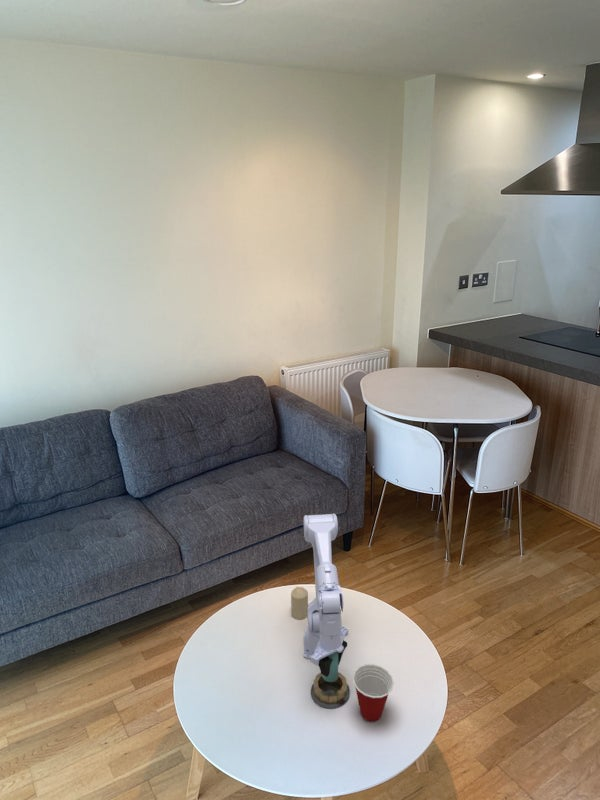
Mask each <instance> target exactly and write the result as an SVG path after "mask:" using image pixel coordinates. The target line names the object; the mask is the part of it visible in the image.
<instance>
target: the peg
mask: <svg viewBox="0 0 600 800" xmlns="http://www.w3.org/2000/svg"><path fill="white" fill-rule="evenodd" d="M328 657H329V658H331V659H333V661H332V663H331V665H330V671H329V675H328V677H326V676H324V675H323V674H322V677H323V679H324V680H325V681H327V682H334V681H336V680H337V679H338V672H339V665H338V652H335V653H333V654H330V655H328Z"/></svg>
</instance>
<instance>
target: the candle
mask: <svg viewBox="0 0 600 800" xmlns="http://www.w3.org/2000/svg"><path fill="white" fill-rule="evenodd" d="M308 592H309V591H308V590H307V589H306V588H304V587H303V586H296V587H295V588H293V589H292V590H291V592H290V601H291V602H290V603H291V604H290V605H291V616H292V618H293V619H295V620H299V621H300V620H304V619H306V618H307V612H308V610H307V607H308V605H309V595H308V594H309V593H308Z"/></svg>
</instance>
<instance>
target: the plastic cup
mask: <svg viewBox="0 0 600 800" xmlns="http://www.w3.org/2000/svg"><path fill="white" fill-rule="evenodd" d="M352 682H353V685H354V687H355V690H356V696H357V701H358V702H357V703H358V707H359V712H360V715H361V717H362V718H363V719H364V720H366V722H371V723H372V722H373V723H374V722H377V721H379V720H380V719H382V716H383V712H384V710H385V705H386V703H387V700H388V697H389V694H391V692H392V691H393V689H394V684H395V682H394V678H393V675H392V674H391V673H390V672H389V670H387V668H385V667H383V666H381V665H378V664H375V663H364V664H362V665H360V666H358V667H357V668H356V669H355V670H354V671H353V675H352Z"/></svg>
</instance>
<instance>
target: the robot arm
mask: <svg viewBox="0 0 600 800" xmlns="http://www.w3.org/2000/svg"><path fill="white" fill-rule="evenodd" d="M302 524H303V535H304V537H303V538H304V540H305V542H308V543H310V544H311V546H312V550H313V565H314V569H313V570H314V585H315V586H314V587H315V598H314V599H313V600H312V601H310V602H308V607H307V610H308V612H307V617H306V618H307V625H306V627H305V630H304V634H303V655H302V657H303V658H307V659H310V663H312V664H313V665H315V666H318V668H319V671H320V673H321V674H323V675H324V676H326V677H328V675H329V671H330V665H331V663H332V661H333V659H331V658H329V657H328V655H330V654H333V653H335V652H338V666H340V664H341V661H342V657H343V654H344V652H345V650H346V648H347V647H348V642H347V640H345V637H348V635H349V628H347V627H345V626H342V623H343V622H342V613H343V612H344V595H343V592H342V588H341V585H340V584H339V575H338V569H337V567H336V565H335V564H333V562H332V561H333V559H332V558H333V557H332V541H335V540H336V537H337V535H338V531H339V522H338V517H337V515H336V513H328V514H327V513H326V514H310V515H309V514H308V515H307V514H305V515H304V516H303V523H302Z"/></svg>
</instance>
